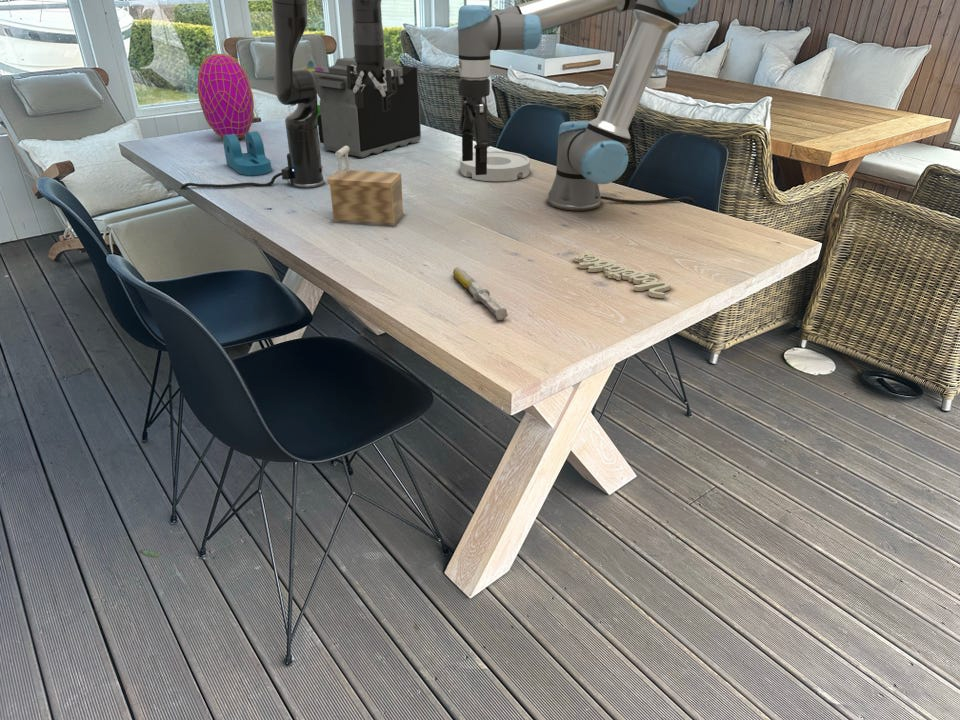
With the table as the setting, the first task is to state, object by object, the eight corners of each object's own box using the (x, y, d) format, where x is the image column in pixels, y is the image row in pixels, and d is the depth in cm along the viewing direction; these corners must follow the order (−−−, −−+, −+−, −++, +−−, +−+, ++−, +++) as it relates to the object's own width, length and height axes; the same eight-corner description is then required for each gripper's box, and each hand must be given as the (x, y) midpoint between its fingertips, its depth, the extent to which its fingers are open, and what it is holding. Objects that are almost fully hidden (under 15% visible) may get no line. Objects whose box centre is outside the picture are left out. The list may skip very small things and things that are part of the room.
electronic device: (383, 133, 276) (378, 52, 261) (425, 141, 265) (422, 56, 250) (314, 150, 251) (304, 61, 235) (358, 160, 240) (350, 67, 224)
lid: (327, 184, 179) (324, 152, 175) (340, 174, 188) (337, 143, 183) (391, 188, 177) (389, 155, 173) (401, 177, 185) (399, 146, 181)
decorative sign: (686, 282, 150) (660, 295, 144) (686, 286, 150) (659, 300, 144) (592, 249, 166) (565, 259, 160) (592, 253, 167) (565, 263, 161)
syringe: (449, 274, 155) (449, 263, 153) (465, 272, 156) (464, 260, 154) (490, 323, 135) (491, 310, 133) (508, 319, 136) (508, 307, 134)
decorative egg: (223, 147, 254) (207, 59, 238) (197, 138, 265) (180, 54, 250) (268, 138, 266) (256, 54, 251) (241, 130, 277) (228, 49, 262)
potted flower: (308, 125, 287) (301, 61, 274) (303, 122, 293) (296, 58, 280) (330, 123, 291) (324, 59, 278) (325, 120, 297) (319, 57, 284)
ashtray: (462, 161, 239) (462, 150, 237) (528, 163, 239) (529, 151, 237) (458, 180, 219) (458, 168, 217) (530, 182, 219) (531, 169, 217)
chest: (333, 222, 185) (329, 184, 179) (345, 211, 193) (342, 174, 188) (393, 226, 182) (391, 188, 177) (403, 214, 190) (401, 178, 185)
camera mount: (227, 164, 233) (221, 132, 227) (257, 160, 238) (252, 129, 233) (244, 176, 220) (239, 143, 215) (276, 172, 225) (271, 139, 220)
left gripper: (336, 41, 172) (342, 109, 180) (382, 45, 166) (386, 115, 174) (356, 38, 177) (360, 104, 186) (400, 42, 171) (403, 110, 180)
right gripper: (447, 71, 173) (448, 156, 184) (472, 87, 152) (472, 181, 163) (476, 70, 175) (475, 154, 186) (504, 85, 154) (502, 179, 165)
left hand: (373, 109), depth 180 cm, fingers open, 8 cm apart
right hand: (474, 167), depth 174 cm, fingers open, 13 cm apart
